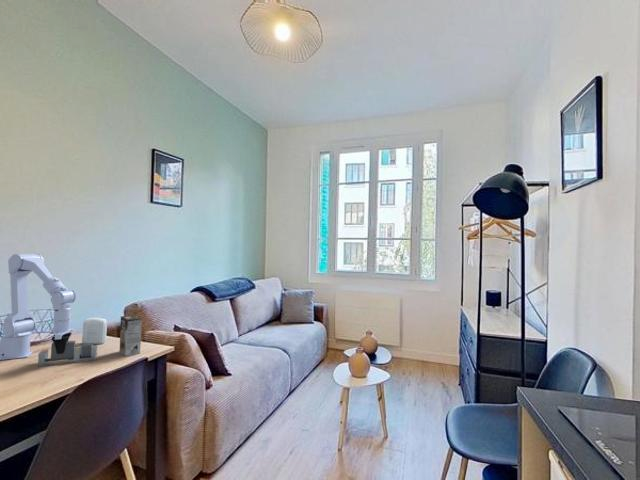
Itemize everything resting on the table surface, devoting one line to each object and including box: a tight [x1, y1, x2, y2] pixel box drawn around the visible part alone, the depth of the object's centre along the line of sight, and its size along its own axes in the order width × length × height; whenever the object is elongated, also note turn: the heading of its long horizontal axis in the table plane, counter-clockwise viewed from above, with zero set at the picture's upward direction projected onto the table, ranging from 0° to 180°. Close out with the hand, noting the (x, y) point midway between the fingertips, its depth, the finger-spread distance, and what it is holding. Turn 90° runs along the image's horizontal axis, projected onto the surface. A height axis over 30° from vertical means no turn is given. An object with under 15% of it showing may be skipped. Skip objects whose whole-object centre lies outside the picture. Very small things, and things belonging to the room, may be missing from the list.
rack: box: [37, 343, 98, 367], centre depth 138 cm, size 19×6×6 cm, turn 118°
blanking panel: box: [50, 340, 76, 361], centre depth 138 cm, size 8×2×7 cm, turn 118°
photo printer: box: [81, 317, 108, 345], centre depth 163 cm, size 10×4×12 cm, turn 98°
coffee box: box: [119, 314, 143, 357], centre depth 152 cm, size 9×6×16 cm
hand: (61, 352), depth 137 cm, fingers closed on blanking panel, 2 cm apart
